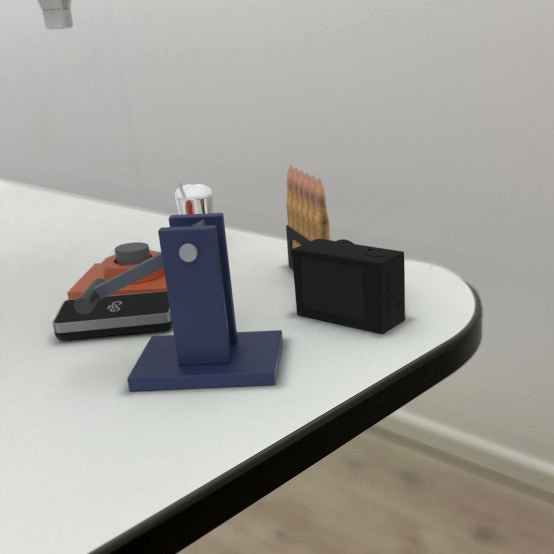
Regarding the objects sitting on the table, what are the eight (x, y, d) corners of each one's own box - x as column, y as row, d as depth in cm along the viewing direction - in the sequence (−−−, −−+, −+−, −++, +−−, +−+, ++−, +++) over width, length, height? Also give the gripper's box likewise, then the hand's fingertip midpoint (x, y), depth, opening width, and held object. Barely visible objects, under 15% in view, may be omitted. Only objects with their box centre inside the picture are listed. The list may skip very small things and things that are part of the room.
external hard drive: (68, 318, 79) (64, 299, 78) (177, 307, 80) (174, 289, 80) (55, 344, 73) (51, 324, 72) (174, 332, 74) (171, 313, 73)
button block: (71, 312, 80) (63, 275, 79) (98, 281, 90) (91, 248, 88) (185, 306, 81) (179, 270, 79) (200, 276, 90) (196, 243, 88)
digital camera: (413, 315, 76) (412, 247, 73) (383, 334, 72) (381, 262, 69) (328, 298, 81) (324, 234, 78) (296, 315, 77) (291, 247, 74)
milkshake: (173, 263, 95) (161, 182, 90) (194, 251, 99) (184, 173, 95) (206, 265, 93) (196, 183, 89) (226, 253, 98) (217, 174, 94)
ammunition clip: (288, 266, 92) (280, 164, 87) (302, 263, 93) (295, 163, 88) (320, 292, 83) (313, 181, 78) (336, 289, 84) (330, 179, 79)
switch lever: (84, 322, 62) (66, 297, 61) (101, 301, 67) (85, 277, 66) (212, 257, 60) (196, 230, 59) (221, 239, 65) (206, 214, 64)
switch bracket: (129, 391, 63) (101, 239, 57) (153, 347, 71) (130, 211, 66) (275, 385, 63) (260, 232, 58) (282, 341, 71) (270, 204, 66)
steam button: (113, 268, 82) (110, 252, 81) (121, 258, 85) (119, 242, 84) (146, 266, 82) (144, 250, 81) (154, 256, 85) (151, 241, 84)
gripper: (35, -118, 79) (62, 28, 85) (-58, -157, 61) (-15, 33, 66) (96, -120, 79) (119, 25, 85) (22, -160, 61) (58, 30, 66)
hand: (60, 29), depth 75 cm, fingers closed
